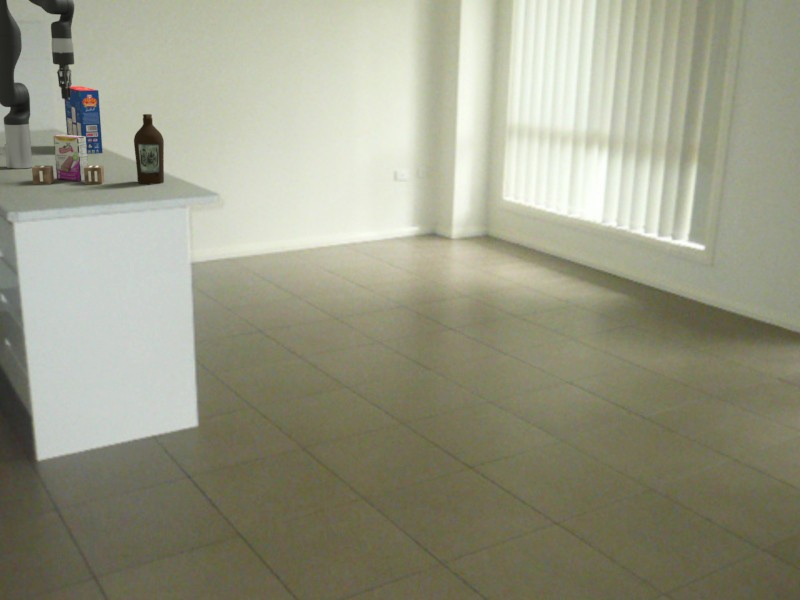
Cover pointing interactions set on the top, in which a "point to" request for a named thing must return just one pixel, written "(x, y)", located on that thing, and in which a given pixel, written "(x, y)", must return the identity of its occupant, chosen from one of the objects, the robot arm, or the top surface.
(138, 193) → the top surface
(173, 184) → the top surface
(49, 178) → the walnut block one
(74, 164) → the candy bar box
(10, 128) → the robot arm
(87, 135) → the pasta box
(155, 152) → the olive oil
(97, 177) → the walnut block two
